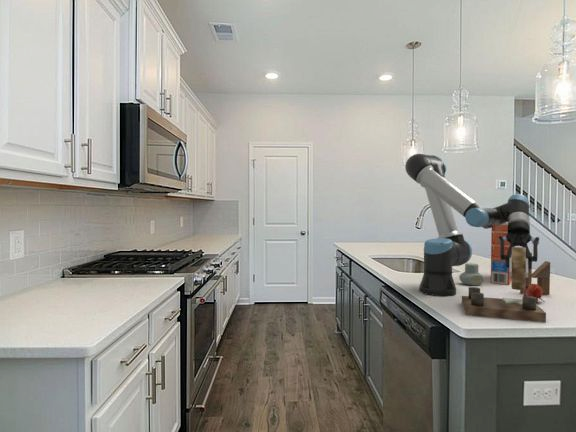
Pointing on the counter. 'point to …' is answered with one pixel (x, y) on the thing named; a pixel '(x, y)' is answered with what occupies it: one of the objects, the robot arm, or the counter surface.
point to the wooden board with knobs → (502, 307)
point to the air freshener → (471, 275)
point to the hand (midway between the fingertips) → (518, 274)
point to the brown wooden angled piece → (540, 277)
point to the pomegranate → (533, 291)
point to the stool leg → (518, 268)
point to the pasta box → (499, 256)
